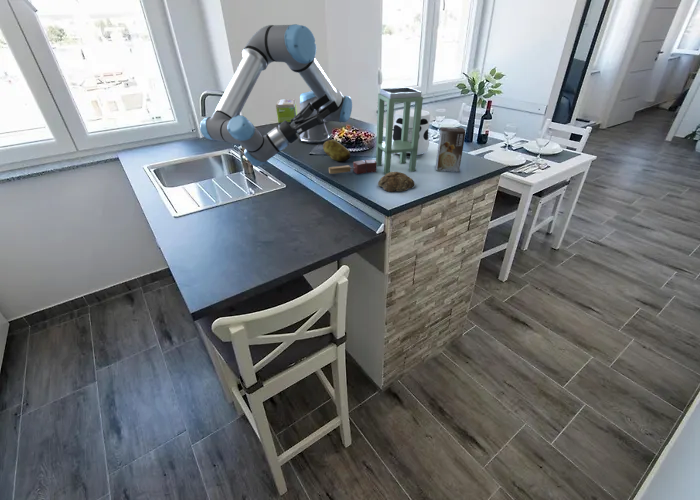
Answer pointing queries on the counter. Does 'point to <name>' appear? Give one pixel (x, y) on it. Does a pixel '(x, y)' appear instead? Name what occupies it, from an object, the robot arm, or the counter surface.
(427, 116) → the milk container
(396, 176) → the bread roll
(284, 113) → the tea box
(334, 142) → the potato
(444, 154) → the coffee box
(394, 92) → the steel pan
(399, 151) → the shelf stand
